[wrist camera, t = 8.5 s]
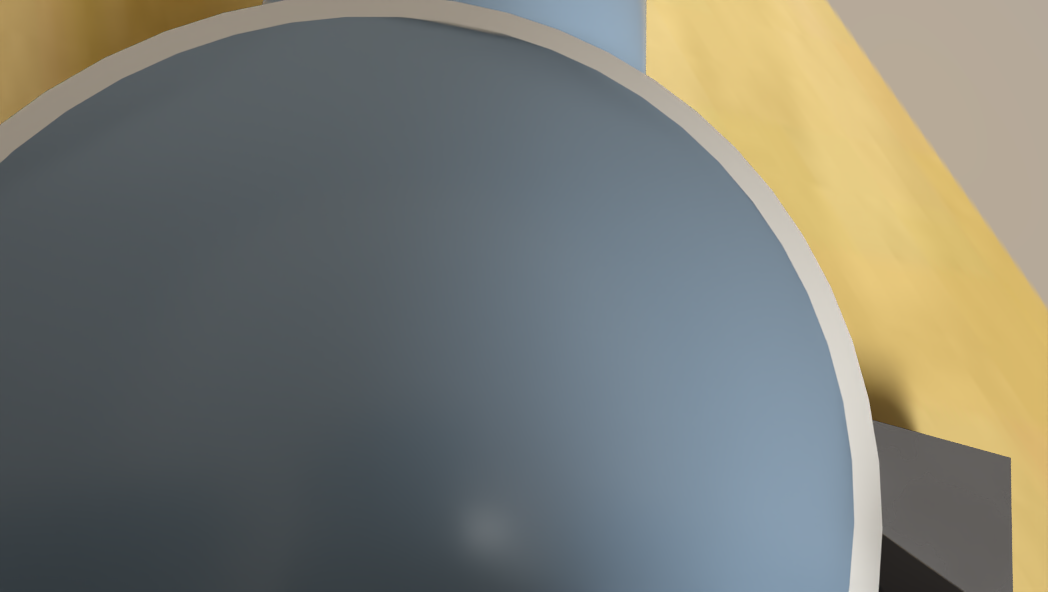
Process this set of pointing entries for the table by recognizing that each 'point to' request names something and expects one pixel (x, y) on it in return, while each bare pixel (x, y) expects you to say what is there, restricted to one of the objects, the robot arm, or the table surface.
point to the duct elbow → (414, 321)
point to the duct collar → (947, 506)
